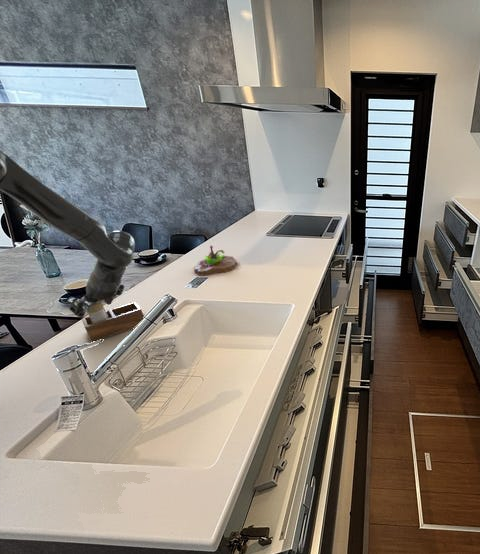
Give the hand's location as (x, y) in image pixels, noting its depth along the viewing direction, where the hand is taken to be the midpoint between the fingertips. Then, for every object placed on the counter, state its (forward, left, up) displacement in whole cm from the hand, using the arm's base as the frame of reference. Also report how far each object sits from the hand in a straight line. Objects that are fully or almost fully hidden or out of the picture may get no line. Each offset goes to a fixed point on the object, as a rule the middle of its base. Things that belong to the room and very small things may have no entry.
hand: (93, 308), depth 101 cm
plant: (+15, +57, -10) cm, 60 cm away
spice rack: (+3, +2, -10) cm, 10 cm away
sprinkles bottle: (+1, 0, -9) cm, 9 cm away
